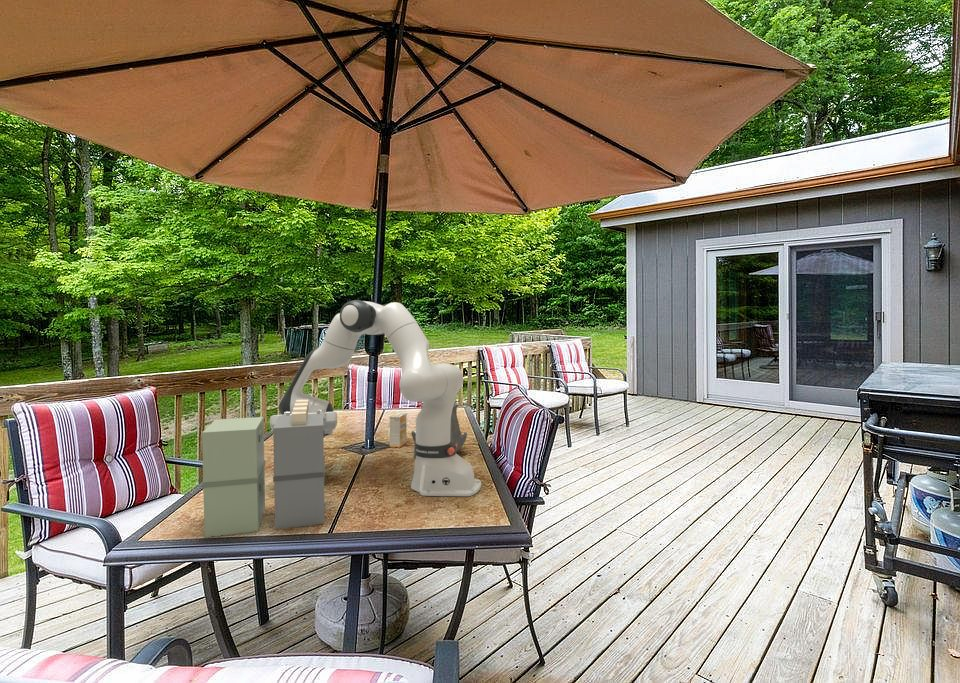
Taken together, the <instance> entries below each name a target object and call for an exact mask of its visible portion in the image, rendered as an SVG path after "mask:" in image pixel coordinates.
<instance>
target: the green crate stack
mask: <svg viewBox="0 0 960 683" xmlns="http://www.w3.org/2000/svg"><path fill="white" fill-rule="evenodd" d="M264 422H265V421H264V416H258V417H256V416H255V417H254V416H253V417H237V418H219V419H215V420H214V421H213V422H211V423H210V424H209V425H208V426H207V427H206V428H205V429H204V430H203V431H201V439H202V440H201V445H202V447H201V449H202V452H201V453H202V483H201V488H202V489H203V490H202V491H203V520H204V521H203V523H204V524H203V526H204V527H203V528H204V531H203V532H204V538H211V536H214V537H219V536H220V537H221V535H223V536H229V535H230V536H231V535H237V534H238V535H239V534H246V533H256V532H255V531H257V532H259V530H258V529H260V526H261V522H262V520H263V516H264V514H263V513H265V510H266V479H265V477H266V476H265V474H266V473H265V466H266V460H265V429H264V426H265V425H264Z"/></svg>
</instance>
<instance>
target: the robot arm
mask: <svg viewBox="0 0 960 683" xmlns="http://www.w3.org/2000/svg"><path fill="white" fill-rule="evenodd" d="M362 335H369V336H371V335H372V336H373V335H374V336H384V335H385V337H386V338H387V339H386V340H387V341H388V342H389V344H390V346H391V348H392V350H393V351H394V353H395V355H396V356H397V359H398V361H399V364H400V367H401V368H400V369H401V376H400V379H399V390H400V393H401V396H403V397H404V399H406V400H407V401H409V402H414V403H415V402H417V403H423V402H424V404H423V407H422V408H421V409H420V411H419V413H418V414H417V415H416V418H415V433H416V442H414V446H413V455H414V458H413V459H414V468H413V469H414V470H413V475H412V480H411V483H410V488H411V490H413V491H415V492H417V493H418V494H419V495H420V496H422V497H470V496H473V495H476V494H477V493H478V492H479V491H480V490H481V489H482V481H481V480H480V479H479V478H475V472H474V468H473V466H472V465H471V463H469V462H467V461H466V460H465V459H464V458H463V457H461V456H460V455H459V454H457V452H456V448H457V443H456V444H453V443H452V442H451V441H450V427H451V414H452V409H453V405H454V402H455V403H456V399H457V395H458V393H459V391H460V390H461V389H462V386H463V384H464V375H463V372H462V370H461V368H459V367H458V366H457V365H455V364H453V363H446V362H445V363H444V362H442V363H435V364H434V363H432V361H431V359H430V356H429V349H430V341H429V340H428V339H427V337H426V335H425V334H424V332H423V330H422V328H421V327H420V325H419V324H418V322H417V320H416V319H415V318H414V317H413V315H412V313H411V312H410V311H409V310H408V309H407V308H406V307H405V306H404V304H402V303H401V302H396V301H395V302H389V303H386V304H385V305H384V304H379V303H376V302H373V301H366V300H360V299H354V300H349V301H347V302H345V303H344V304H343V305H342V307H341V309H340V312H338V313H336V314H335V315H334V317H333V318H332V320H331V322H330V324H329V326H328V328H327V330H326V333H325V335H324V338H323V341H322V343H321V344H320V346H319V347H318V348H317V349H312V350H311V351H310V352H309V353H307V355H306V357H305V358H304V359H303V361H302V363H301V365H300V366H299V368H298V370H297V372H296V374H295V375H294V377H293V379H292V381H291V382H290V384H289V386H288V388H287V390H286V391H285V393H284V394H283V396H282V397H281V399H280V400H279V403H278V411H279V413H280V414H272V415H271V416H270V417H269V427H270V429H271V430H272V431H273V428H274V425H275V423H276V421H277V419H278V417H279V416H290V415H292V411H293V408H294V405H295V402H296V400H303V399H309V411H308V415H309V414H323V426H324V427H325V437H328V436H331V435H333V433H334V431H335V429H336V427H337V425H338V412H337V411H334V407H333V405H332V402H330V401H328V400H325V399H322V398H319V397H315V396H313V395H309V394H307V393H304V392H303V388H304V386H305V385H306V383H307V381H308V379H309V377H310V376H311V374H312V372H314V371H315V370H323V369H324V370H328V369H329V370H330V369H331V370H332V369H339V368H342V367H344V366H347V365H348V364H349V363H350V361H351V359H352V358H353V355H354V352H355V350H356V348H357V344H358V341H359V339H360V337H361V336H362Z"/></svg>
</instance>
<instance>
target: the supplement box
mask: <svg viewBox="0 0 960 683" xmlns="http://www.w3.org/2000/svg"><path fill="white" fill-rule="evenodd" d="M405 444H407V413H404V412H396V413H394V414H392V415H390V416H389V447H390V448H395V447H398V449H400V448H401V447H403V446H404V445H405Z"/></svg>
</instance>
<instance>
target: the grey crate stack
mask: <svg viewBox="0 0 960 683" xmlns="http://www.w3.org/2000/svg"><path fill="white" fill-rule="evenodd" d="M272 431H273V434H272V437H273V439H272V440H273V442H272V443H273V476H272V480H273V484H274V485H273V486H274V490H273V493H274V529H275V530H280V529H282V530H283V529H289V528H298V527H307V526H313V525H314V526H315V525H322V524H325V486H326V471H325V468H326V467H325V466H326V462H325V460H326V459H325V450H324V448H325V444H324V442H325V437H326V436H325V427H324V426H323V414H309V415H308V416H307V422H306V425H292V415H290V416H279V417H278V419H277V421H276V423H275V425H274V428H273V430H272Z"/></svg>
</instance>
